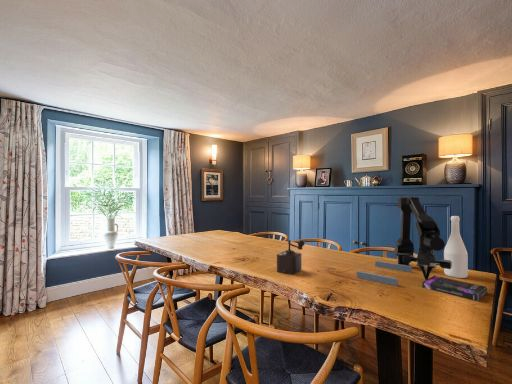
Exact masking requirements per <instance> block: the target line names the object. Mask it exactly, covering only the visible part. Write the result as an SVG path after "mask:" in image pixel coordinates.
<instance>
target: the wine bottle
mask: <svg viewBox="0 0 512 384" xmlns="http://www.w3.org/2000/svg"><path fill="white" fill-rule="evenodd" d="M460 220H461V219H460V216H458V215H452V216H450V221H451V223H450V235H449V237H448V240H447V241H446V243H445V246H444V248H443V249H444V250H443V260H450V261H451V262H452V267H451V269H446V268H443V273H444V274H445V275H446V276H448V277H450V278H456V279H465V278H467V277H468V276H469V275H468V274H469V273H468V272H469V269H468V267H469V265H468V264H469V263H468V260H469V258H468V254H469V253H468V251H467V249H466V246H465V243H464V240H463V238H462V236H461V233H460V231H461V230H460Z"/></svg>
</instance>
